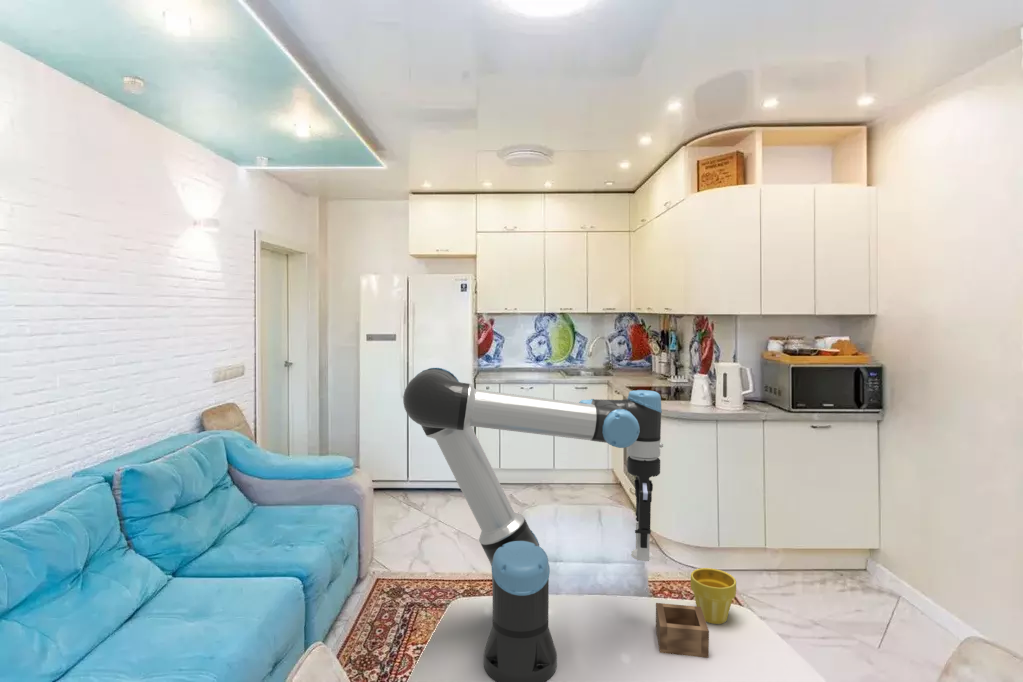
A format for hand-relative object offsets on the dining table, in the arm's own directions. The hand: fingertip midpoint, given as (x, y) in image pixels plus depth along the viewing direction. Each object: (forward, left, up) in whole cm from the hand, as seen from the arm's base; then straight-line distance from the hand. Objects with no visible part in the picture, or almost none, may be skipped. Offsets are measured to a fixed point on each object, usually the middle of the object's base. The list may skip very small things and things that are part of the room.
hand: (642, 554), depth 127 cm
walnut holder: (+8, -6, -17) cm, 19 cm away
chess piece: (0, 0, -1) cm, 1 cm away
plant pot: (+17, +6, -17) cm, 25 cm away
